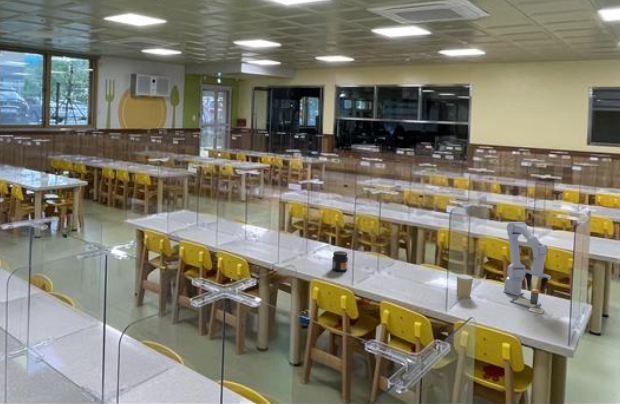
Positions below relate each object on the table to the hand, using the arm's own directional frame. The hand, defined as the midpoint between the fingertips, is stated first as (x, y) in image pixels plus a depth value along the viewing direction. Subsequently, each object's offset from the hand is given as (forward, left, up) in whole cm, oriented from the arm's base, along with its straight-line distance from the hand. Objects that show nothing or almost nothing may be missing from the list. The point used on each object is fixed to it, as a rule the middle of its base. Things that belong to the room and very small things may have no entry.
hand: (535, 288), depth 303 cm
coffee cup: (-34, -20, -10) cm, 41 cm away
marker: (0, 0, -9) cm, 9 cm away
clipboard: (-4, -2, -10) cm, 11 cm away
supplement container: (-114, -42, -10) cm, 122 cm away
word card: (+5, -9, -10) cm, 14 cm away
